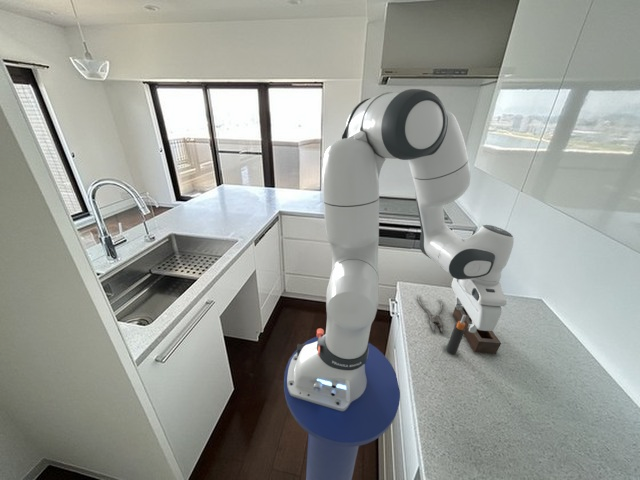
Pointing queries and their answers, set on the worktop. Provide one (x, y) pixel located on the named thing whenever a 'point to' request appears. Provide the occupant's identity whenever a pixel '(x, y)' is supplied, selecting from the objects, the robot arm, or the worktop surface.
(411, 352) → the worktop surface
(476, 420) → the worktop surface
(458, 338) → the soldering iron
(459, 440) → the worktop surface
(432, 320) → the pliers
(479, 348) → the holder
